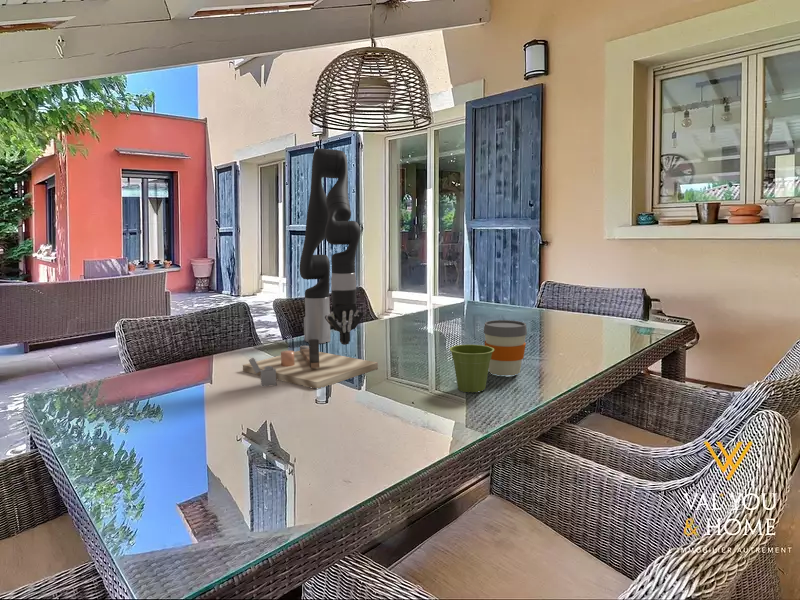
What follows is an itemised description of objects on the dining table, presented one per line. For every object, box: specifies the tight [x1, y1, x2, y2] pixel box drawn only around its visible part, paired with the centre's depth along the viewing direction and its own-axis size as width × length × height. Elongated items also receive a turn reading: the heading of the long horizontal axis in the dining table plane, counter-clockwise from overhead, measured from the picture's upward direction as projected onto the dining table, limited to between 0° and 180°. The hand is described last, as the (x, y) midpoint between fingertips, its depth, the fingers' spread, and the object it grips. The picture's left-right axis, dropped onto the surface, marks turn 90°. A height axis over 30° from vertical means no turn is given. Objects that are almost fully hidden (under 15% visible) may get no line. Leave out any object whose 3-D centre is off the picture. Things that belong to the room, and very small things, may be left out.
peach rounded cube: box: [280, 350, 295, 366], centre depth 163 cm, size 4×4×4 cm
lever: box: [299, 339, 320, 368], centre depth 167 cm, size 22×3×8 cm, turn 19°
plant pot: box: [448, 344, 494, 393], centre depth 143 cm, size 12×12×11 cm
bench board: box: [242, 350, 379, 389], centre depth 165 cm, size 32×26×2 cm
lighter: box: [248, 357, 278, 387], centre depth 149 cm, size 7×2×8 cm, turn 106°
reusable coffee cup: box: [483, 319, 528, 375], centre depth 159 cm, size 13×13×15 cm
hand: (344, 344), depth 164 cm, fingers closed
